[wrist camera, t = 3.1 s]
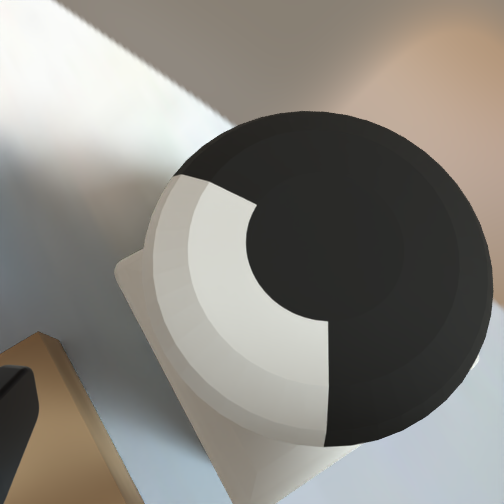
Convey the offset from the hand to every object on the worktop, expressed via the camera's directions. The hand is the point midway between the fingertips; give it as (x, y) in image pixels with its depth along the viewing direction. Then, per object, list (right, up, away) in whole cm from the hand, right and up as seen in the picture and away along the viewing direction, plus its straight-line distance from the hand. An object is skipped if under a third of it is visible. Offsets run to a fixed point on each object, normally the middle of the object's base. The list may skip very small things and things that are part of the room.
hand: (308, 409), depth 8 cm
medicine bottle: (0, -1, +11) cm, 11 cm away
